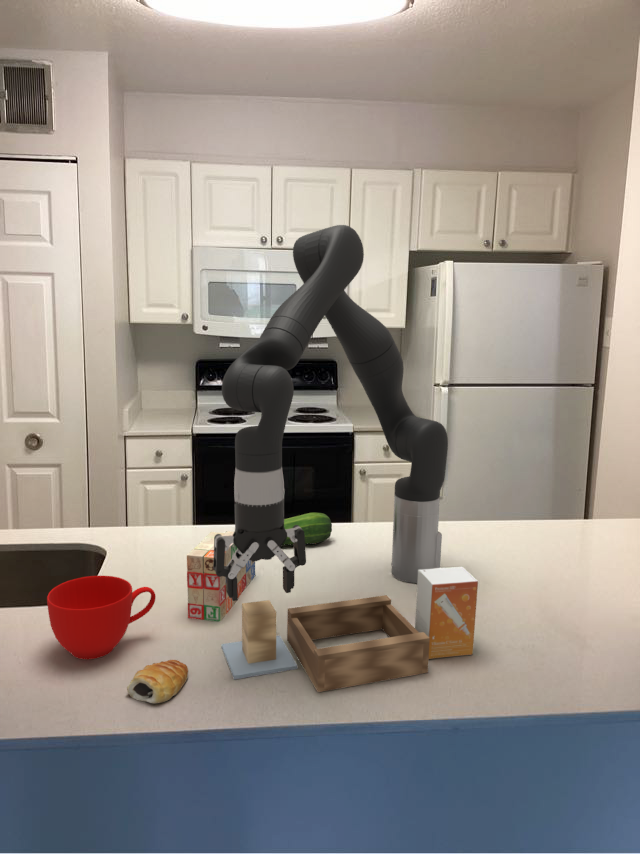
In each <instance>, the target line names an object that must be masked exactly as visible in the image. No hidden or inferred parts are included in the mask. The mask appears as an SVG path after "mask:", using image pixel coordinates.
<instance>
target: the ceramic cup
mask: <svg viewBox="0 0 640 854" xmlns="http://www.w3.org/2000/svg"><path fill="white" fill-rule="evenodd" d="M132 586H133V585H132V584H131V583H130V582H129V581H128V580H126V579H124V578H121V577H118V576H113V575H90V576H89V575H88V576H82V577H78V578H74V579H70V580H67V581H65V582H62V583H60V584H58V585H56V586H54V587H53V588H52V589H51V590H50V591H49V592H48V595H47V596H46V602H47V605H46V606H47V612H48V619H49V623H50V627H51V631H52V632H53V635H54V637H55V638H56V640H57V641H58V643H59V644H60V645H61V647H62V648H63V649H65V650H66V651H67V652H69V654H71V655H72V656H73V657H74V658H76V659H79V660H94V659H95V660H96V659H99V658H103V657H104V656H108V655H109V654H111V653H112V652H113V651H114V649H115V647H116V646H117V645H118V644H119V643H120V642H121V641H122V638H123V637H124V635H125V633H126V632H127V629H128V627H129V625H130V624H132V623H134V622H136V621H137V620H139V619H141V618H143V617H144V616H146V615H147V614H148V613H149V612H150V611H151V610H152V608H153V606H154V605H155V603H156V592H155V591H154V590H153V588H151V587H150V586H141V587H139V588H137V589H135V590H134V591H133V587H132ZM143 593H150V599H149V601H148V603H147V604H146V606H144V608H143V609H141V610H140V611H138V612H137V613H135V614H134V615H132V607H133V604H134V601H135V600H136V598H137V597H138V596H139V595H141V594H143Z"/></svg>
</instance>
